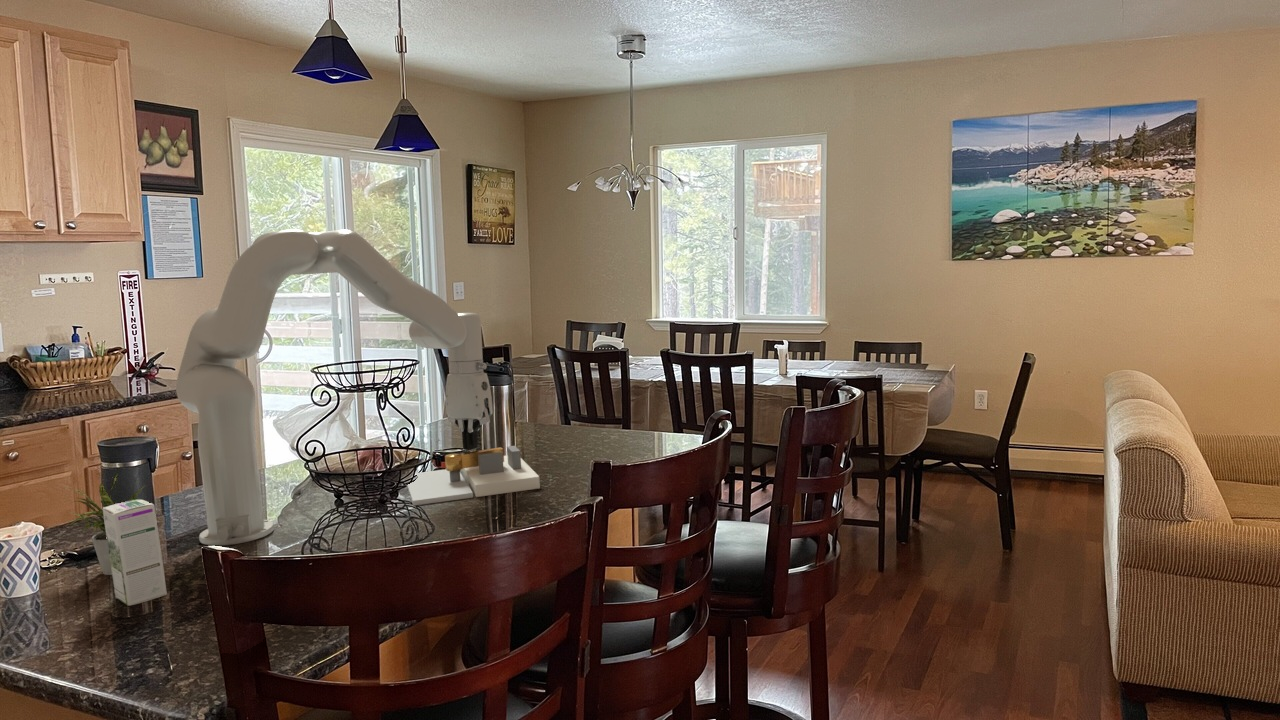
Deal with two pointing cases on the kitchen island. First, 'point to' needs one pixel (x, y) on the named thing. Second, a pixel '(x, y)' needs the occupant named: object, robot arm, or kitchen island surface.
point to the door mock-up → (475, 479)
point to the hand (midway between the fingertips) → (470, 448)
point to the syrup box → (134, 551)
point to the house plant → (100, 526)
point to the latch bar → (467, 459)
